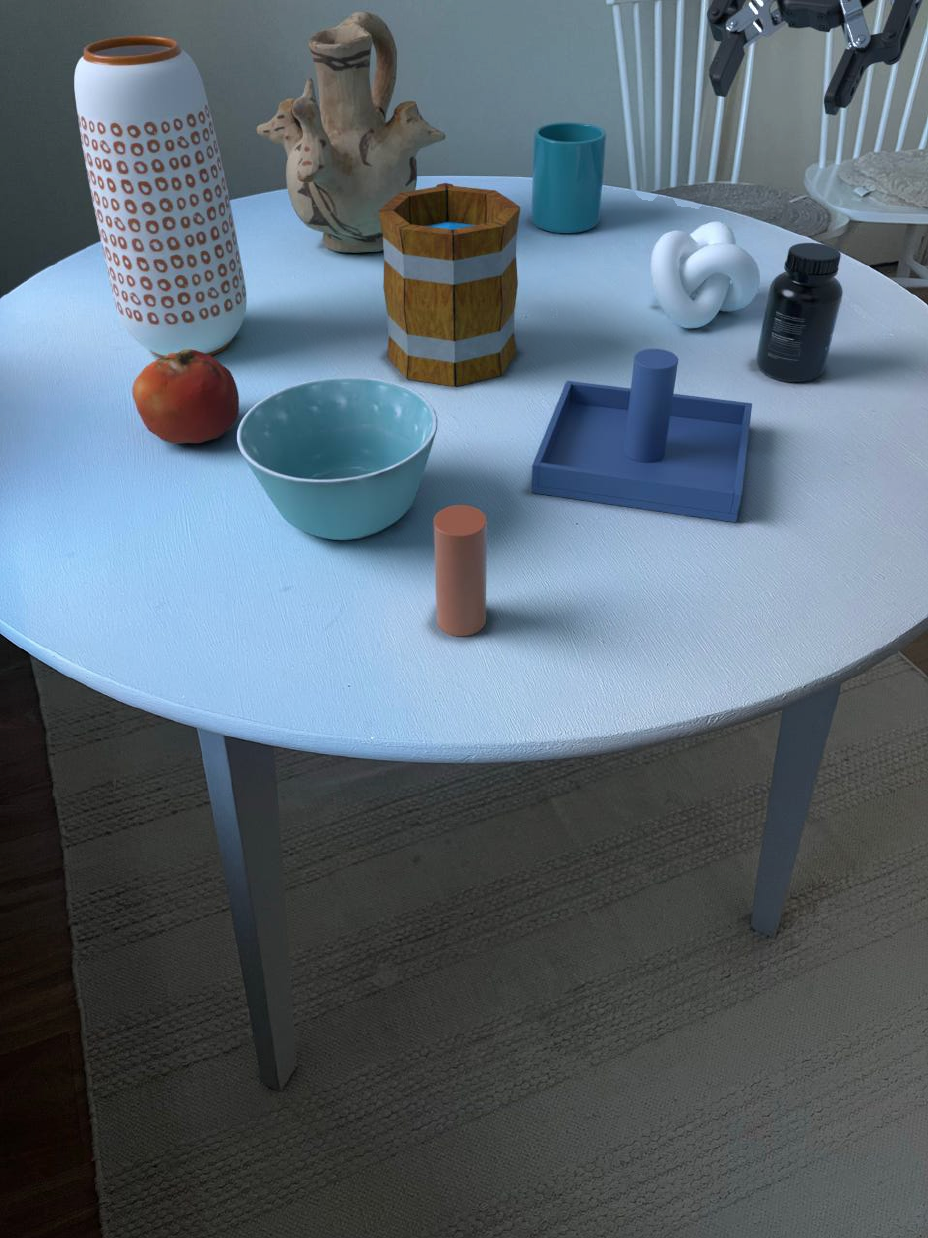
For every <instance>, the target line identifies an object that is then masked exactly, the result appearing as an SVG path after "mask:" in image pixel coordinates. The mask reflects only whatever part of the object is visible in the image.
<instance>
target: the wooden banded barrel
mask: <svg viewBox="0 0 928 1238" xmlns="http://www.w3.org/2000/svg"><path fill="white" fill-rule="evenodd" d="M378 212H379V218H380V224H381V229H382V235H383V248H384V250H383V282H382V283H383V285H382V287H383V288H382V289H383V294H384V301H385V308H386V314H387V315H386V316H387V328H388V340H387V341H388V342H387V359H388V360H389V361H390V362H391V364H393V366H394V367H395V368H396V369H397V370H398V371H399V372H400V373H401V374H402V375H403V376H404V378H406V379H407V380H411V381H417V382H424V383H429V384H434V385H435V384H437V385H442V386H448V387H455V388H456V387H460V386H464V385H468V384H472V383H477V382H481V381H485V380H488V379H489V380H490V379H493V378H498V377H502V376H503V374H504V373H505V371H506V369H507V368H508V367H509V366H510V364H511V362H512V361H513V359H514V358H515V356H516V355H517V348H516V347H517V346H516V335H515V314H516V312H515V311H516V303H517V294H518V287H519V285H518V284H519V281H518V280H519V279H518V264H517V263H518V262H517V238H518V237H517V236H518V235H517V234H518V227H519V221H520V220H519V219H520V214H521V213H520V212H521V206H520V205H519V204H517V203H516V202H514V201H512V200H511V199H510V198H508V197H507V196H505V195H503V194H502V193H500V192H499V191H498V190H495V189H488V188H487V189H486V188H476V187H468V186H467V187H466V186H459V185H453V184H452V183H448V182H443V183H438V184H436V186H433V187H426V188H421V189H415V190H414V191H408V192H402V193H398V194H397V195H396V196H395V197H394V198H392V199H391V200H390V201H389V202H388V203H387V204H385V205H384V206H383V207H382V208H381V209H380V210H379V211H378Z"/></svg>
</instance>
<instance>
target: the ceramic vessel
mask: <svg viewBox="0 0 928 1238" xmlns="http://www.w3.org/2000/svg"><path fill="white" fill-rule="evenodd" d="M308 47H309V50H310V54H311V57H312V60H313V64H314V69H315V74H316V80H317V86H318V94H319V96H318V97H319V103H318V100H317V97H316V92H315V84H314V80H313V78H312V77H308V78H307V80H306V82H305V86H304V90H303V93H302V95H301V96H299V97H298V98H296V99H295V98H294V97H293V98H292V97H290V98H289V97H288V98H287V99H285V100H282V101H281V102H280V103H279V106H278V110H277V112H276V114H275V115H274V116H273V117H272V118H271V119H270V120H269V121H267V122H264V123H261V124H259V125H257V126H256V132H257V134H258V135H259V136H260V137H262V138H263V139H266V140H268V141H270V142H272V143H273V144H275V145H276V146H277V147H281V148H283V149H284V150H285V154H286V157H287V161H286V167H285V171H286V172H285V179H286V180H285V181H286V189H287V192H288V196H289V199H290V202H291V206H292V208H293V210H294V212H295V214H296V216H297V217H298V218H299V220H300V221H301V223H303V224H304V225H305V227H307V228H309V229H312V230H313V231H316V232H320V233H322V244H323V246H324V247H325V248H326V249H328V250H330V251H333V252H339V253H378V252H382V251H384V248H383V235H382V229H381V224H380V218H379V212H378V211H379V210H380V209H381V208H382V207H383V206H384V205H385V204H387V203H388V202H389V201H390V200H391V199H392V198H394V197H395V196H396V195H397V194H398V193H402V192H408V191H414V190H417V189H416V188H417V183H418V182H417V181H418V163H417V154H418V152H419V151H420V150H421V149H424V148H427V147H429V146H431V145H433V144H437V143H439V142H443V141H445V140H446V136H447V135H446V134H445V132H443V131H441V130H439V129H437V128H436V127H433V126H432V125H431V124H430V123H429V122H428V121H426V119H424V118H423V116H422V114H421V112H420V111H419V108H418V104H417V102H416V101H415V100H408V101H407V100H406V101H403V102H400V103H398V105H397V106H396V107H395V108H394V110H393V114H392V116H391V117H390V119H389V120H388V121H387V113H388V109H389V107H390V104H391V101H392V99H393V95H394V92H395V86H396V82H397V73H398V49H397V46H396V42H395V39H394V36H393V34H392V32H391V30H390V28H389V26H388V24H386V23H385V21H384V20H383V19H382V18H381V17H380V16H378V15H377V14H374V13H372V12H370V11H355V12H353V13H352V14H351V15H350V16H348V17H347V18H346V19H344V20H343V21H342V22H341V23H339V24H338V25H336V27H331V28H323V29H320V30H319V31H317V32H316V33H314V34H313V35H312V36H311V37H310V38H309V41H308ZM373 47H374V50H375V56H376V57H375V58H376V59H375V60H376V61H375V72H374V80H373V84H372V87H371V56H372V55H371V54H372V48H373Z"/></svg>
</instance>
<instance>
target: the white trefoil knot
mask: <svg viewBox="0 0 928 1238" xmlns="http://www.w3.org/2000/svg"><path fill="white" fill-rule="evenodd" d="M650 273H651V274H650V275H651V282H652V286H653V287H652V288H653V290H654V293H655V296H656V299H657V302H658V303H659V305H660V307H661V310H662V311H663V312H664V314H665V315H666V316H667V318H668V319H670V320H671V321H672V322H673V323H674V324H675V325H677V326H679V327H681V328H684V329H698V328H699V329H700V328H702V327H704V326H706V325H708V324H709V323H710V322H711V321H713V320H714V318H715V317H716V316H717V315H718V313H719V311H721V312H726V313H727V312H734V311H738V310H741V309H744V308H745V307H747V306H748V305H749V304H750V303H751V302H752V301H753V300H754V299H755V297H756V295H757V293H758V292H759V289H760V285H761V276H760V275H761V273H760V268H759V266H758V263H757V262H756V260H755V259H754V258H753V257H752V255H751V254H750V253H749V252H748V251H747V250H746V249H744V248H743V247H741V246H739V245H737V244H736V237H735V234H734V231H733V229H732V228H731V227H730V226H729V225H728V224H726V223H724V222H721V221H716V220H715V221H710V222H707V223H705V224H702V225H700V226H699V227H697V228H696V229H695V230H693V231H692V232H691V233H690V234H689V233H688V232H684V231H681V230H677V229H676V230H672V231H668V232H666V233H663V235H661V236H660V238H659V239H658V240H657V242H656V243H655V244H654V247H653V249H652V251H651V257H650ZM694 294H695V297H694V298H691V297H692V296H693V295H694Z"/></svg>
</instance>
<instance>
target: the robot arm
mask: <svg viewBox="0 0 928 1238" xmlns="http://www.w3.org/2000/svg"><path fill="white" fill-rule="evenodd" d="M746 1H747V0H712V2H711V3H710V6H709V8H708V10H707V12H706V17H707V20H708V24H709V28H710V32H711V34H712V35H711V36H712V38H713V40H714V41H716V42H720V43H719V45H718V48H717V50H716V53H715V55H714V57H713V58H712V62H711V64H710V66H709V68H708V76H709V77H708V78H709V80H710V83H711V86H712V89H713V92H714V95H715V96H716V97H722V98H726V97H727V96H728V94H729V92H730V89H731V88H732V85H733V83H734V81H735V78H736V76H737V73H738V71H739V69H740V67H741V64H742V63H743V60H744V58H745V55H746V52H745V50H746V49H747V48H749V47H750V46H751V45H753V44H754V43H755V42H756V41H758V40H759V39H761V38H762V37H766V38H768V37H770V36H772V35H773V34H775V33H776V32H778V31H779V30H780V29H781V28H783V27H784V26H786V24H787V26H788V28H791V29H806V28H811V29H814V30H815V31H817V32H823V33H830V32H831V30H832V29H836V28H838V27H840V28H841V31H842V34H843V37H844V40H845V44H846V47H847V48H844V51H843V53H842V55H841V58H840V59H839V62H838V64H837V66H836V69H835V70H834V73H833V75H832V77H831V80H830V82H829V84H828V86H827V89H826V91H825V93H824V97H823V98H824V99H823V106H824V113H825V115H830V116H837V115H838V113H839V112H840V109H847V107H848V106H849V105H850V104H851V102H852V101H853V98H854V96H855V94H856V93H857V89H858V88H859V85H860V83H861V80H862V79H863V76H864V74H865V73H866V70H867V69H868V68H870V66H872V65H874V64H879V63H884V64H885V65H886V66H893V65H896V64H897V63H898V62H900V60H901V59H902V56H903V53H904V50H905V48H906V45H907V42H908V40H909V37H910V35H911V31H912V29H913V27H914V24H915V21H916V19H917V15H918V13H919V10H920V8H921V5H922V3H923V0H889V3H890V5H891V8H890V12H889V14H888V17H887V19H886V22H885V25H884V26H883V29H882V32H879V33H873V34H871V33H870V30H869V27H868V24H867V20H866V18H865V14H864V9H865V8H866V7H868V6H870V4H872V3H873V2H874V1H875V0H750V2H749V3H748V4H747V5H745V4H746ZM775 2H776V5H777V8H776V9H775V10H773V11H772V12H771V7H772V5H773V4H774V3H775ZM744 5H745V6H744Z"/></svg>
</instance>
